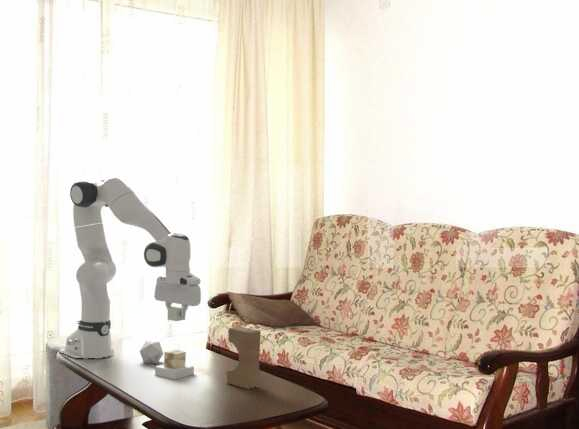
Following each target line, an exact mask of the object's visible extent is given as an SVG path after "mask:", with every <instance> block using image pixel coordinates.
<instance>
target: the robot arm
mask: <svg viewBox="0 0 579 429" xmlns="http://www.w3.org/2000/svg"><path fill="white" fill-rule="evenodd" d="M69 195H70V200H71V201H72V203H73V208H72V209H73V210H72V214H73V226H74V231H75V236H76V237H75V238H76V242H77V248H78V249H79V250H80V252H81V254H82V257H83V260H84V262H83V263H82V264H81V265H80V266H79V267H78V268H77V271H76V274H75V275H76V276H75V277H76V281H77V283H78V285H79V291H80V292H79V293H80V298H81V314H80V315H81V318H80V320H77V321H76V325H77V329H76V330H74V331H73V332H72V333H70V334H69V336H67V337H66V341H65V347H63V348H60V349H59V351H58V352H59V353H61V354H63V353H64V354H63V355H65V354H66V355H65V356H68V355H69V356H68V357H70V356H71V358H73V357H74V358H73V359H75V358H83V359H88V358H95V359H104V358H103V357H105V358H108V356H109V357H112V354H113V352H114V348H113V346H112V345H113V344H112V334H111V325H112V324H111V323H112V322H111V319H110V317H111V316H110V313H111V311H110V309H111V301H110V300H111V299H110V298H109V294H108V286H107V285H108V283H110V282H111V281H112V280H113V278H114V277H115V275H116V272H117V267H116V264H115V262H114V261H113V258H112V254H111V253H110V252H111V251H110V249H109V247H108V244H107V241H106V239H107V238H106V235H105V230H104V224H103V217H102V213H101V212H102V208H103V207H106V208H109V209H110V211H111V212H112V214H113V216H114V217H116V219H117V220H118V221H120V222H121V223H123V224H125V225H129V226H134V227H136V228H137V227H138V228H140V229H143V230H145V231H146V232H147V233H148V234H150V236H151V237H152V239H154V240H155V241H152V242H149V243H148V244H147V245H146V246H145V248H144V251H143V258H144V261H145V262H146V264H147V265H148V266H149V267H152V268H164V267H165V276H163V275H159V276H157V278H156V282H155V283H156V284H155V289H154V299H155V300H156V301H158V302H159V301H160V302H164V303H165V304H164V305H165V307H166V309H167V310H168V307H172V305H173V304H178V305H181V307H183V308H182V311H180V312H179V313H180V314H179V316H182V317H184V316H185V317H186V311H188V309H189V307H196V306H200V304H201V299H202V295H201V294H202V292H201V291H202V290H201V286H200V285H201V279H200V278H199V277H197V276H196V275H194V274H192V273H191V268H190V261H191V242H190V241H191V240H190V238H189V237H188V236H187V235H185V234H182V233H174V232H170V231H169V229H168V228H167V227H166V226H165V225H164V223H162V221H161V220H160V219H159V218H158V216H156V215H155V214H154V213H153V212H152V211H151V210H150V209H149V208H148V207H147V206H146V205H145V204H144V203H143V202H142V201H141V200H140V198H139V197H138V196H137V195H136V193H135V192H134V190H133V189H132V188H131V187H130V186H129V184H127V182H126V181H125V180H124V179H122V178H121V177H118V176H112V177H109V176H107V177H94V178H90V179H86V180H82V179H81V180H78V181H77V182H74V183H73V184H72V185H71V187H70V191H69Z"/></svg>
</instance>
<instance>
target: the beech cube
mask: <svg viewBox="0 0 579 429" xmlns="http://www.w3.org/2000/svg"><path fill="white" fill-rule="evenodd" d="M186 355H187V352H186V351H185V350H181V349H180V350H179V349H175V348H174V349H171V350H166V351H164V352H163V357H164V360H163V364H164V367H168V368H173V369H177V368H181V367H185V364H186Z"/></svg>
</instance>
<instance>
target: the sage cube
mask: <svg viewBox="0 0 579 429" xmlns="http://www.w3.org/2000/svg"><path fill="white" fill-rule="evenodd" d="M182 308H183V307H182V306H179V305H176V306H171V307H168V309H167V320H169V321H175V322H180V321H185V320H186V315H185V316H184V317H182V316H179V314H180V313H179V312H180V311H182Z"/></svg>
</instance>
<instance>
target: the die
mask: <svg viewBox="0 0 579 429" xmlns="http://www.w3.org/2000/svg"><path fill="white" fill-rule="evenodd" d="M162 348H163V347H162V346H161V342H160V341H152V340H151V341H145V342H144V344H143V346H142V347H141V348H140V350H139V354H140V357H141V358H142V361H143V364H153V365H155V364H157V365H158V363H159V362H160V360H161V359H162V357H163V356H164V352H163V349H162Z"/></svg>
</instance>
